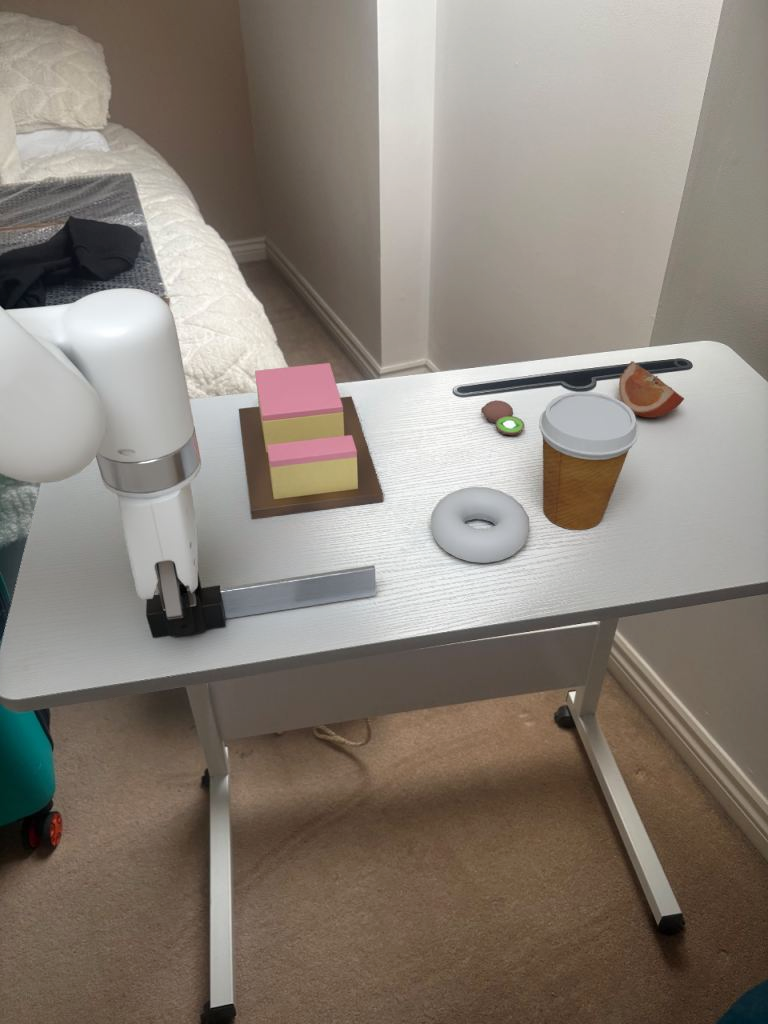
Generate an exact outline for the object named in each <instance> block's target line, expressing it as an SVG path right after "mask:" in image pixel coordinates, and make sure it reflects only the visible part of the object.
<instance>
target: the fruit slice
mask: <svg viewBox="0 0 768 1024" xmlns="http://www.w3.org/2000/svg"><path fill="white" fill-rule="evenodd" d="M658 376H659V375H655V374H653V373H651V372H650V371H648V370H646V369H645V368H643V367H642V366H641V365H639V364H638V363H636V362H635V361H633V360H631V361H630V363H629V364H628V365H627V367H626V368H625V369H624V370H623V373H622V374H620V377H619V382H618V388H619V389H618V391H619V396H620V399H621V402H623V403H624V404H626V405H627V406H628V407H629V408H630V409H631V410H632V411H633V413H634V415H637V416H640V417H644V418H659V417H662V416H664V415H667V414H669V413H671V412H672V411H674V410H675V409H676V408H678V407H679V406H680V405H681V404H682V402H683V401H684V400H685V398H684V396H682V395H680V394H679V393H678V392H677V391H676V390H674V389H673V388H672V387H671V386H669V385H667V384H666V383H665V382H664V381H662V380H661V378H659V377H658Z"/></svg>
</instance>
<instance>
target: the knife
mask: <svg viewBox="0 0 768 1024" xmlns="http://www.w3.org/2000/svg"><path fill="white" fill-rule="evenodd" d="M376 580H377V579H376V566H375V564H372V565H366V566H360V567H353V568H347V569H340V570H333V571H332V570H331V571H327V572H319V573H312V574H306V575H299V576H292V577H286V578H280V579H275V580H274V579H273V580H267V581H266V580H265V581H261V582H253V583H252V582H251V583H246V584H240V585H232V586H227V587H226V586H225V587H221V585H220V584H218V585H213V586H205V587H201V588H198V589H195V596H196V597H197V596H199V598H200V603H201V608H202V612H203V617H204V622H205V631H206V630H211V629H219V628H224V627H226V626H227V622H226V619H234V618H241V617H247V616H253V615H258V614H259V615H261V614H265V613H272V612H278V611H286V610H292V609H298V608H304V607H311V606H318V605H322V604H329V603H330V604H331V603H337V602H344V601H348V600H354V599H363V598H369V597H375V596H377V583H376V582H377V581H376ZM181 593H187V592H186V590H185V591H180V594H181ZM145 601H146V603H145V604H146V605H145V607H146V608H145V617H146V619H147V624H148V626H149V627H148V628H149V630H150V634H151V637H152V638H154V639H155V638H161V637H167V636H169V634H168V630H167V626H166V622H165V618H164V615H163V611H162V607H161V599H160V595H159V593H158V594H154V596H153V599H146V600H145Z"/></svg>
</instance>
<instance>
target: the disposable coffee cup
mask: <svg viewBox="0 0 768 1024" xmlns="http://www.w3.org/2000/svg"><path fill="white" fill-rule="evenodd" d="M538 427H539V430H540V433H541V436H542V503H543V504H542V506H543V507H542V511H543V514H544V515H545V517H546V518H547V519H548V520H549V521H550V522H551V523H553V524H554V525H556V526H558V527H561V528H564V529H567V530H573V531H583V530H590V529H592V528H595V527H597V526H599V524H600V523H601V522H602V521H603V519H604V517H605V514H606V510H607V508H608V506H609V503H610V500H611V497H612V495H613V493H614V490H615V487H616V485H617V482H618V479H619V478H620V474H621V472H622V470H623V467H624V465H625V461H626V459H627V456H628V453H629V451H630V449H632V447H633V446H634V444H635V443H636V442H637V440H638V437H639V434H640V433H639V427H638V423H637V419H636V414H635V413H633V411H632V410H631V409H630V408H629V407H628V406H627V405H626V404H624V403H623V401H622V400H619V399H617V398H616V397H613V396H610V395H608V394H607V395H606V394H603V393H600V392H599V393H598V392H591V391H573V392H568V393H564V394H561V395H558V396H556V397H554V398H553V399H551V400H550V402H548V404H547V405H546V407H545V410H544V411H542V413H541V414H540V417H539V420H538Z"/></svg>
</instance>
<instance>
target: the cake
mask: <svg viewBox="0 0 768 1024" xmlns="http://www.w3.org/2000/svg"><path fill="white" fill-rule="evenodd" d="M254 375H255V384H256V393H257V401H258V406H259V409H260V416H261V422H262V428H263V435H264V441H265V448H266V452H268V450H267V445H271V444H279V443H288V442H296V441H305V440H314V439H322V438H331V437H339V436H344V419H343V405H342V402H341V399H340V398H341V396H340V392H339V389H338V385H337V382H336V379H335V376H334V373H333V368H332V366H331V363H330V362H326V363H316V364H305V365H296V366H286V367H278V368H276V367H275V368H267V369H258V370H254Z"/></svg>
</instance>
